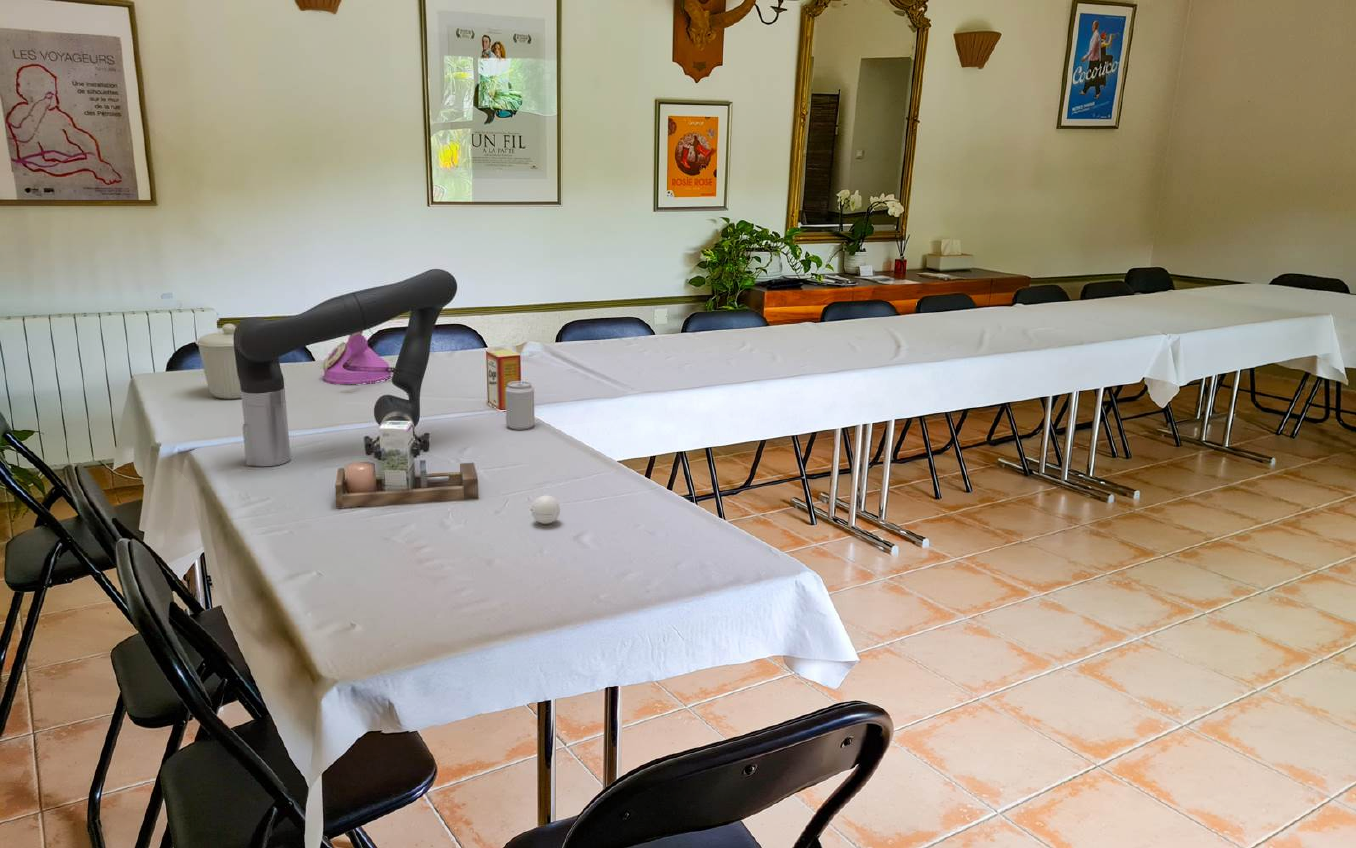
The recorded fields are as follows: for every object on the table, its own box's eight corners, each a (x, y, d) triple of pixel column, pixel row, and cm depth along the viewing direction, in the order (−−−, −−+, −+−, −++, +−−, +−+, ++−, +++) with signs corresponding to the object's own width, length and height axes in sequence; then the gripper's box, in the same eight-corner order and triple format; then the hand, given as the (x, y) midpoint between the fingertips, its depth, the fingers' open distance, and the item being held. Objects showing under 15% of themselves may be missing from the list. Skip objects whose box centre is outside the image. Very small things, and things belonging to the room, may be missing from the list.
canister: (252, 403, 275) (245, 330, 269) (189, 401, 275) (181, 328, 270) (279, 388, 292) (273, 319, 287) (219, 387, 293) (212, 317, 287)
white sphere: (546, 515, 196) (546, 489, 194) (566, 522, 192) (566, 496, 191) (517, 526, 190) (516, 499, 188) (537, 533, 186) (537, 506, 185)
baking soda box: (487, 404, 280) (486, 349, 276) (509, 401, 283) (507, 347, 279) (499, 412, 272) (498, 355, 268) (521, 409, 275) (520, 353, 271)
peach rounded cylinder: (346, 503, 200) (344, 471, 198) (347, 494, 205) (345, 462, 203) (376, 501, 201) (374, 469, 199) (377, 492, 207) (375, 460, 205)
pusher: (421, 497, 203) (420, 470, 201) (421, 487, 209) (419, 460, 208) (450, 495, 205) (448, 468, 203) (448, 485, 211) (447, 458, 209)
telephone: (319, 372, 315) (313, 295, 308) (390, 367, 324) (385, 292, 318) (331, 397, 284) (325, 312, 277) (410, 391, 293) (405, 308, 287)
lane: (336, 508, 197) (335, 485, 195) (340, 490, 207) (338, 468, 206) (478, 498, 204) (477, 476, 203) (474, 481, 215) (473, 460, 213)
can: (507, 431, 253) (506, 386, 250) (504, 424, 260) (503, 380, 257) (536, 430, 255) (535, 385, 252) (532, 422, 262) (532, 379, 259)
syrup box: (416, 484, 208) (412, 419, 204) (410, 494, 202) (406, 427, 198) (389, 484, 208) (385, 419, 204) (382, 494, 202) (378, 427, 198)
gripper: (362, 417, 213) (359, 439, 197) (429, 413, 217) (432, 435, 201) (364, 449, 215) (361, 474, 200) (431, 445, 219) (433, 469, 203)
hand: (397, 454), depth 200 cm, fingers closed on syrup box, 6 cm apart
